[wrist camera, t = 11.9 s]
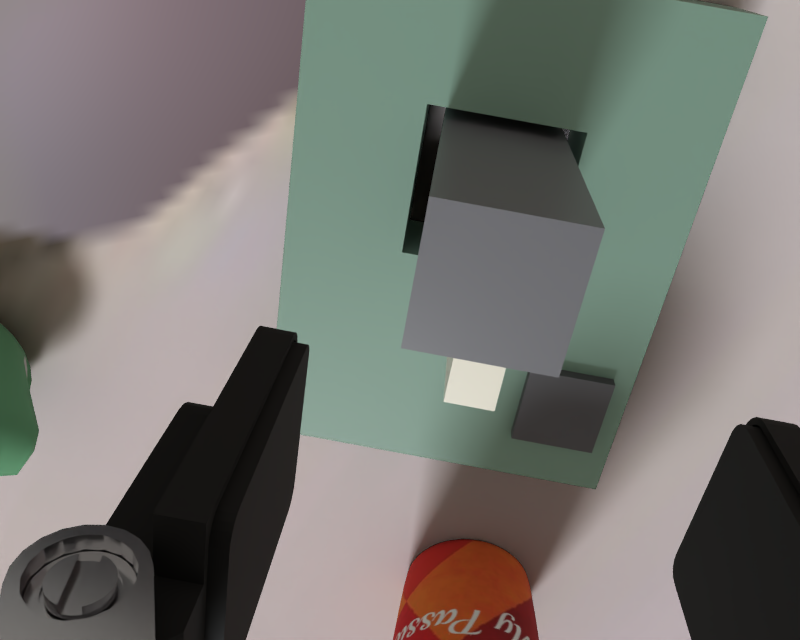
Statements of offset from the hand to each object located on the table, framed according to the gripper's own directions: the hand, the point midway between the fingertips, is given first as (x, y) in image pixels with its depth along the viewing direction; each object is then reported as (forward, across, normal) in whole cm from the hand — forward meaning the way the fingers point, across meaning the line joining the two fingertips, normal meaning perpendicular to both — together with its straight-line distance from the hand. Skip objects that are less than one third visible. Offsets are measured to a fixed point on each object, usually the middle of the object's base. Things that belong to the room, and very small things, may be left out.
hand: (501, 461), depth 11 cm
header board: (+16, 0, +2) cm, 16 cm away
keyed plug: (+16, 0, 0) cm, 16 cm away
